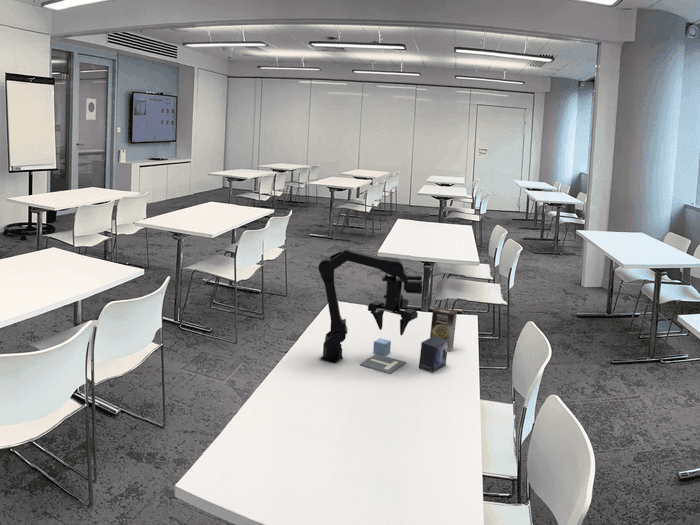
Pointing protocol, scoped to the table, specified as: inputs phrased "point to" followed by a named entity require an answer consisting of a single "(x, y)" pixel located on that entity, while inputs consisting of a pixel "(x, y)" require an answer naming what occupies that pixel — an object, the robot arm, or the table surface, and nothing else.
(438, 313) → the coffee box
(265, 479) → the table surface
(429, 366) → the small box
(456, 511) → the table surface
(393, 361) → the letter card
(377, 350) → the blue cube
